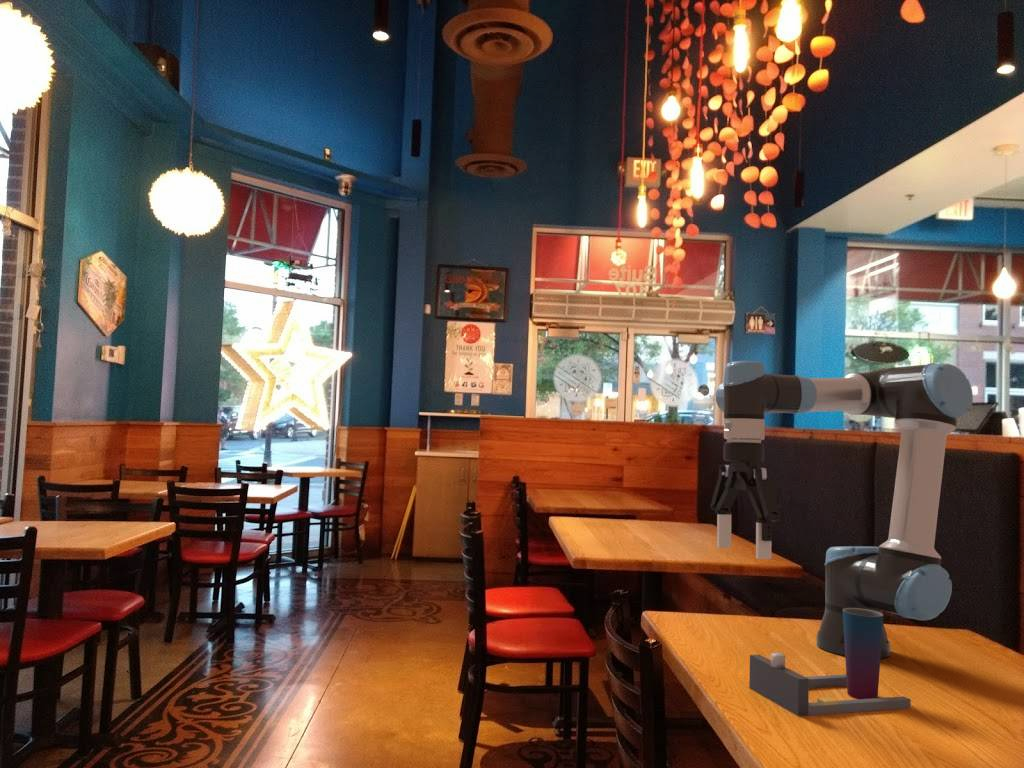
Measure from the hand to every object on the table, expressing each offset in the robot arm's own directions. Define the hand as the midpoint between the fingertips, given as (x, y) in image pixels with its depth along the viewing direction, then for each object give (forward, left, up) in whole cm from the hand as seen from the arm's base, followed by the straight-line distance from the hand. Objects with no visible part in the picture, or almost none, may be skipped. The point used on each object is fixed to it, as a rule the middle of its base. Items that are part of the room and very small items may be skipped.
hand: (742, 553), depth 141 cm
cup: (-19, +10, -25) cm, 33 cm away
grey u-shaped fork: (-11, +10, -24) cm, 28 cm away
